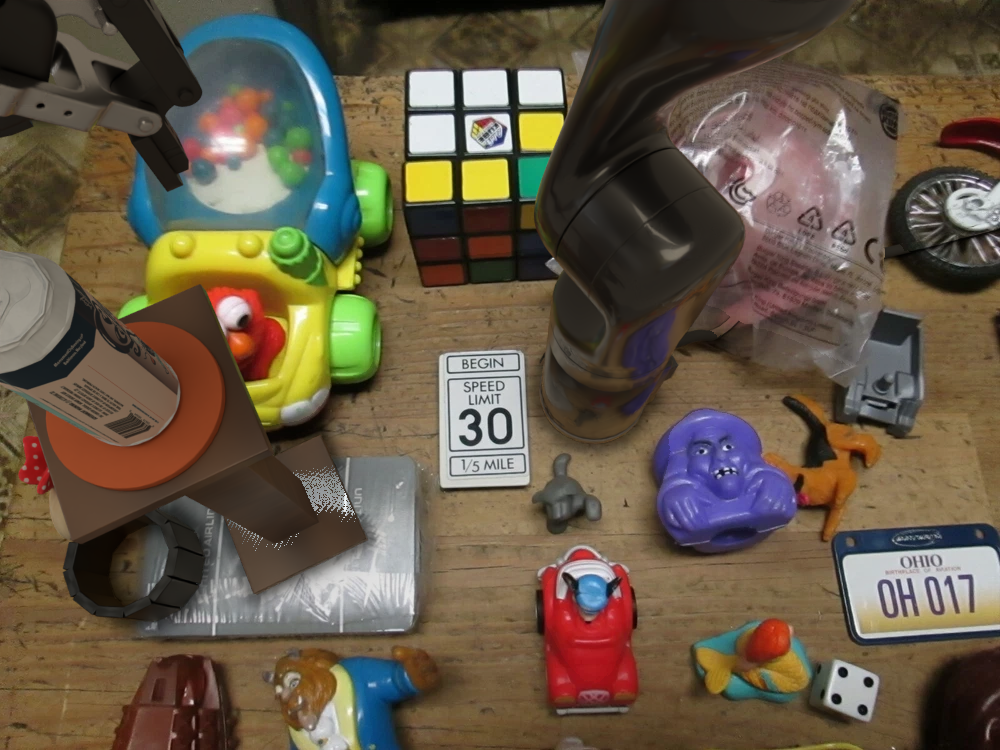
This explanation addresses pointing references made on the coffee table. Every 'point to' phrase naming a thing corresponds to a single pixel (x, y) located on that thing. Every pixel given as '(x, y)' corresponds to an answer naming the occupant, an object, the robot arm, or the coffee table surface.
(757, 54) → the robot arm
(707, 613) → the coffee table surface
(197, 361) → the disc
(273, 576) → the stand
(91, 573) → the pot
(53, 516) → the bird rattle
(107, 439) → the beer can
